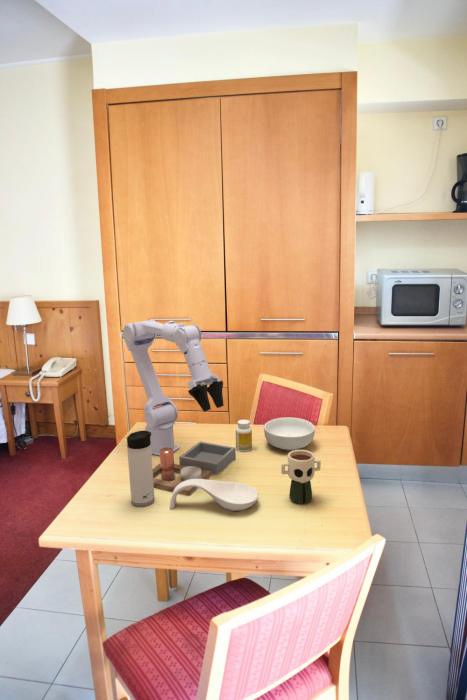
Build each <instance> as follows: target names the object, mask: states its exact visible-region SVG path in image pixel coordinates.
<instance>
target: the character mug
mask: <svg viewBox="0 0 467 700" xmlns="http://www.w3.org/2000/svg"><path fill="white" fill-rule="evenodd" d="M315 458H316V457H315V454H314V453H313V452H312V451H310V450H307V449H297V450H290V452H288V453H287V462H282V463H281V466H280V467H281V468H280V471H281V475H288V477H289V479H290V480H291V481H290V486H289V494H288V495H289V499H290V500H291V501H292V502H295V503H296V504H303V501H304V500H305V503H309V502H311V501H312V500H313V491H312V482H311V480H313V478H314V477H315V472H319V471H321V464H322V463H321V459H319V458H317V459H315ZM315 464H316V467H315ZM286 467H287V469H286Z"/></svg>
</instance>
